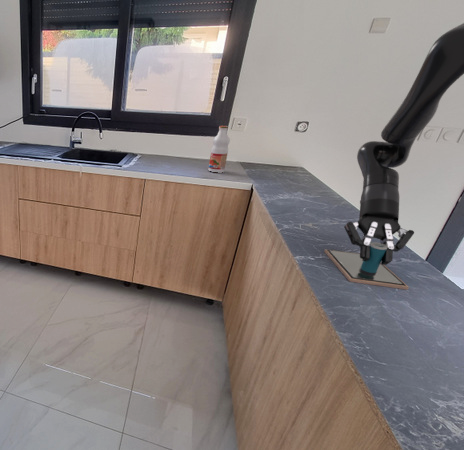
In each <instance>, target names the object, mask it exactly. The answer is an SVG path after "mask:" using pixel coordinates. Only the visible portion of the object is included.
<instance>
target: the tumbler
mask: <svg viewBox="0 0 464 450" xmlns="http://www.w3.org/2000/svg"><path fill="white" fill-rule="evenodd" d="M369 246H370V258H369V260H368V261H363V263H362V265H361V267H360V269H359V272H360V273H362V274H365V275H368V276H375V275H376V272H377V270H378V267H379V265H380V263H382V258H383V256H384V254H385V252H386V249H387V248H388V246H386V245H384V244H381V242H376V241H371V242H370V244H369Z"/></svg>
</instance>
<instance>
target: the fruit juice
mask: <svg viewBox="0 0 464 450" xmlns="http://www.w3.org/2000/svg"><path fill="white" fill-rule="evenodd" d="M228 129H229V126H228V125H219V127H218V132H217V134H216V136H215V137H214V138H213V140H212V147H211V149H210V150H211V151H210V157H209V162H208V170H209V171H212V172H218V173H217V174H223V173H224V172H225V169H226V163H227V158H228V154H229V144H230V138H229V135H228ZM208 170H207V171H208ZM209 171H208V172H209ZM212 172H211V173H212ZM222 172H223V173H222Z"/></svg>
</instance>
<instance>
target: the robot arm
mask: <svg viewBox="0 0 464 450" xmlns="http://www.w3.org/2000/svg"><path fill="white" fill-rule="evenodd" d="M463 75H464V22H463V23H461V24H459V25H457V26H455V27H453V28H451V29H449V30H448V31H446V32H444V33H443V34H442V35H440V36H439V37H438V38H437V39H436V40H435V42H434V43H433V44H432V45H431V47H430V49H429V51H428V52H427V54H426V56H425V59H424V61H423V62H422V65H421V67H420V69H419V71H418V73H417V75H416V77H415V79H414V81H413V82H412V85H411V87H410V89H409V91H408V92H407V94H406V96H405V97H404V99H403V100H402V102H401V104H400V105H399V106H398V108H397V110H396V111H395V112H394V113H393V115H392V116H391V118H390V119H389V120H388V122H387V123H386V125H385V126H384V127H383V129H382V130H381V133H380V136H381V139H382V140H383V141H379V140H372V141H371V140H370V141H367V142H365V143H363V144H362V145H361V146H360V147H359V149H358V151H357V154H356V159H357V163H358V167H359V169H360V171H361V175H362V178H363V181H362V192H361V196H360V200H359V217H358V218H359V219H358V220H357V221H356V222H352V221H348V222H347V223H346V224H345V225H344V230H345V232H346V234H347V236H348V238H349V240H350V243H351V245H353V246H358V247H359V248H360V249H359V253H360V258H361V259H362V261H368V260H369V258H370V243H371V242H372V239H377V240H379V241H380V242H379V243H381V244H384V245H386V246H388V248H387V249H386V252H385V254H384V256H383V258H382V261H381V264H383V265H385V266H386V265H388V264H390V263H392V261H393V256H394V255H393V254H394V252H395V253H396V252H399V251H400V250H402V249H404V248H405V246H406V245H407V244H408V243H409V241H410V240H411V238H412V237H413V235H414V234H415V231H414V230H412V229H409V230H407V229H405V228H402V227H401V225H400V223H399V218H400V191H399V187H400V186H399V185H400V184H399V183H400V175H399V172H398V170H396V169H394V168H399V167H400V166H402V165H404V164H405V163H406V162H407V161H408V158H409V156H410V153H411V150H412V148H413V145H414V143H415V141H416V139H417V137H419V135H420V134H421V133H422V131H423V130H424V129H425V128H426V127H427V125H429V123H430V122H431V121H432V119H433V118H434V117H435V114H436V113H437V110H438V107H439V104H440V102H441V100H442V97H443V96H444V95H445V93H446V92H447V90H449V88H451V86H452V85H454V83H455V82H456V81H457V80H459V79H460V78H461V77H463ZM358 229H359V230H360V231H361V233H362V234H363V235H362V237H360V234H359V233H358ZM396 233H398V238H399V239H398V240H397V242H396V243H395V244H394V236H393V235H395V234H396Z"/></svg>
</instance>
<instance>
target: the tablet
mask: <svg viewBox="0 0 464 450" xmlns="http://www.w3.org/2000/svg"><path fill="white" fill-rule="evenodd" d="M324 253H325V255H326V256H327V257H328V258H329V259H330V261H331V262H332V263H333V264H334V265H335V266H336V268H337V269H338V270H339V271H340V272H341V274H342V275H343V276H344V277H345V278H346V279H347V281H348V282H350V283H355V284H356V283H358V284H362V285H369V286H370V285H371V286H378V287H385V288H392V289H398V290H399V289H400V290H405V291H406V290H409V287H410V286H409V285H407V284H406V283H405V282H404V281H403V280H402V279H401V278H399V277H398V276H397V274H395V273H394V272H393V271H392V270H391V269H389V268H388V267H387V266H386V265H383V264H381V263H382V262H381V263H380V265H379V267H378V270H377V272H376V275H375V276H368V275H365V274H362V273H360V272H359V269H360V267H361V265H362V263H363V261H362V259H361V258H360V252H353V251H344V250H343V251H342V250H334V249H327V248H326V249H324Z"/></svg>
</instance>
